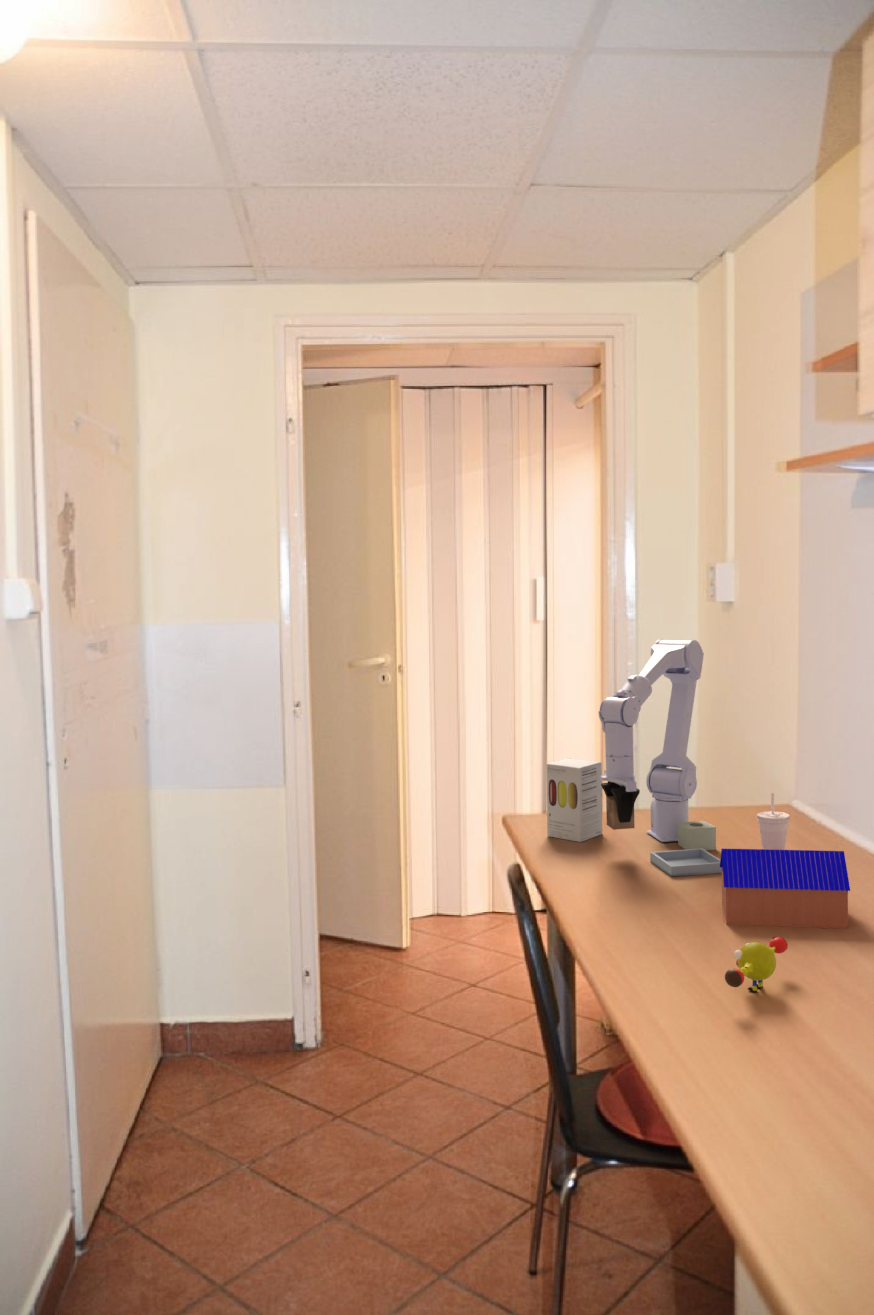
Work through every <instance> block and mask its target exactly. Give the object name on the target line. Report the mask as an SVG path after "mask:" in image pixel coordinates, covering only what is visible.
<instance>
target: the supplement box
mask: <svg viewBox="0 0 874 1315" xmlns="http://www.w3.org/2000/svg"><path fill="white" fill-rule="evenodd" d="M602 765H603V763H602V761H595V760H594V761H592V760H587V759H579V758H578V759H577V758H571V757H570V758H569V757H567V758H563V759H560V760H556V761H552V762H547V763H546V812H547V813H546V816H547V819H546V820H547V822H546V823H547V825H546V826H547V827H546V828H547V830H546V832H547V833H546V834H547V835H546V836H547V837H550V838H556V839H562V840H565V841H566V840H567V841H572V842H579V843H583V842H585V841H588V840H590V839H593V838H595V837H598V836H601V835H602V834H603V788H602V786H601V784H602V783H603V781H602V780H601V779H600V776H603V774H602V773H603V772H602V771H603V769H602V768H603V766H602Z"/></svg>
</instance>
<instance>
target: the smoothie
mask: <svg viewBox="0 0 874 1315" xmlns="http://www.w3.org/2000/svg"><path fill="white" fill-rule="evenodd" d="M756 820H757V821H758V825H759V826H758V827H759V834H760V842H761V849H767V850H786V842H787V834H788V826H789V822H790V821H791V819H790V814H789V813H787V812H781V811H775V793H774V792H771V793H770V810H769V811H761V812H757V814H756Z"/></svg>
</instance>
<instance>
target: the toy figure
mask: <svg viewBox="0 0 874 1315" xmlns="http://www.w3.org/2000/svg"><path fill="white" fill-rule="evenodd" d="M788 947H789V946H788V942H787V940H786V939H785V938H783V937H781V936H773V937H772V939H770V941H769V946H768V945H767V944H765V943H762V942H760V941H759V942H758V941H752V942H747V943H745V944H744V945H743V946H742V947H741V948H740V949H737V950H735V951H734V953H733V955H734V958H735V959H736V961H735V963H736V964H735V965H736V966H737V968H730V969H728V970H727V971H726V972H725V974H724V981H725V983H726V984H727V985H728V986H730V987H732V988H738V987H740V986H742V985H743V984H744V982H745V977H747V979H749V980H752V986H749V987H747V990H748V991H750V992H752V993H758V990H761V989H763V988H764V985H763V984H764V982H763V981H765V980H766V979H768V978H770V977H771V976H772V975H773V974H774V972H775V970H776V968H777V967H776V966H777V959H776V956H775V954H784V953H785V952H786V951H787V949H788ZM738 968H739V969H738Z"/></svg>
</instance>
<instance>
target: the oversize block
mask: <svg viewBox="0 0 874 1315" xmlns="http://www.w3.org/2000/svg"><path fill="white" fill-rule="evenodd" d="M677 845H678V846H679V847H681V848H683V850H686V849H700V848H702V849H704V850H706V851H716V850H717V826H714V825H713V824H711V823H709V822H708V821H705V820H697V821H696V820H693V821H689V822H680V823H678V841H677Z"/></svg>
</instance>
